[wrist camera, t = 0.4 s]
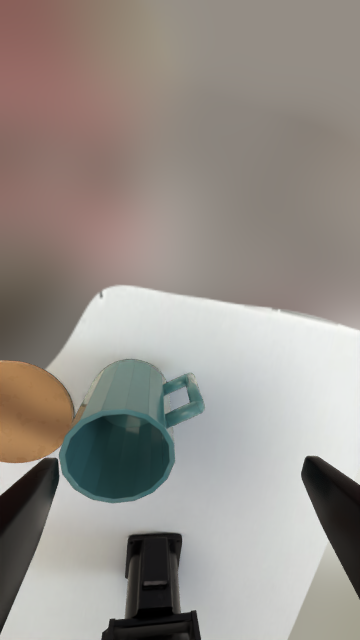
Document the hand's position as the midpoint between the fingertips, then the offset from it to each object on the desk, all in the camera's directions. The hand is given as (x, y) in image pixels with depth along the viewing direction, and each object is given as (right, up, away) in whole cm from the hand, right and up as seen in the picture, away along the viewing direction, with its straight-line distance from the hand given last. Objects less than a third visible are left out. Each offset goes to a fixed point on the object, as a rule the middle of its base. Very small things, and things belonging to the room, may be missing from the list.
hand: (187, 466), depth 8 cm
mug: (-4, -2, +15) cm, 16 cm away
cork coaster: (-16, -4, +14) cm, 22 cm away
